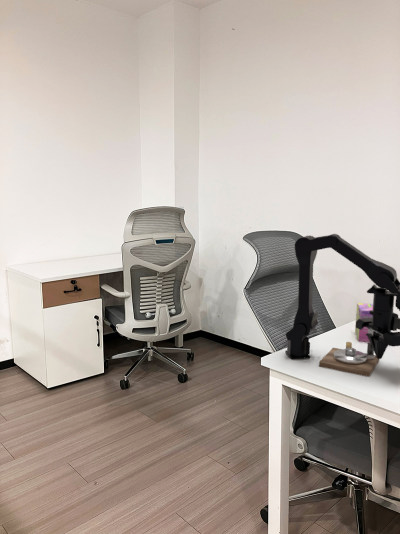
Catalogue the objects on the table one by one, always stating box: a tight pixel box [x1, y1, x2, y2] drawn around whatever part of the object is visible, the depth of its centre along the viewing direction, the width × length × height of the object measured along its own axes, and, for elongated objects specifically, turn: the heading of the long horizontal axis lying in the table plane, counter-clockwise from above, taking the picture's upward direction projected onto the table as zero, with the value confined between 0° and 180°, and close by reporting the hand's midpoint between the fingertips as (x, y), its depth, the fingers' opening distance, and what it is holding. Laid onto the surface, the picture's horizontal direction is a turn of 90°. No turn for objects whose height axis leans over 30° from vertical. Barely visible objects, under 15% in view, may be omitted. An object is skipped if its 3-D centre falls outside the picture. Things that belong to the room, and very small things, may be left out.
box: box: [354, 302, 373, 343], centre depth 173 cm, size 10×6×12 cm, turn 168°
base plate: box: [318, 341, 380, 378], centre depth 148 cm, size 15×15×4 cm
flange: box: [334, 342, 375, 364], centre depth 148 cm, size 12×10×5 cm
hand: (379, 358), depth 142 cm, fingers closed
